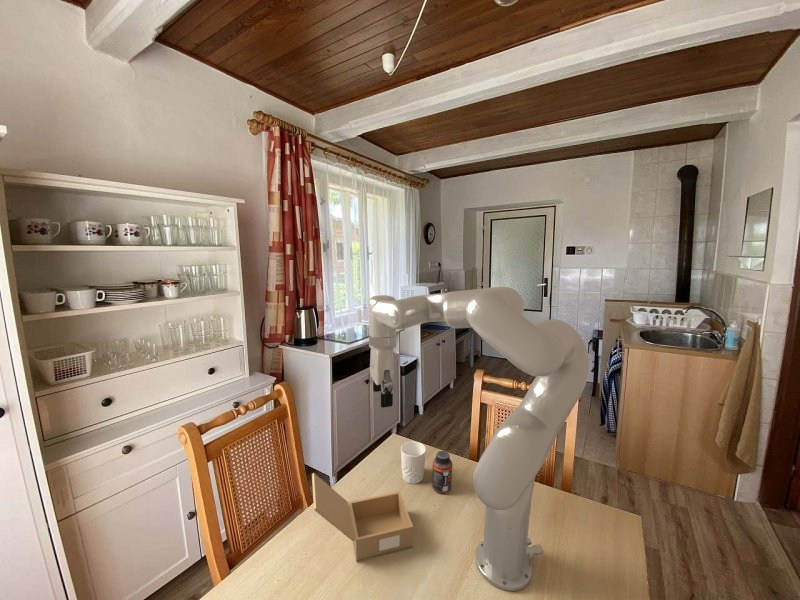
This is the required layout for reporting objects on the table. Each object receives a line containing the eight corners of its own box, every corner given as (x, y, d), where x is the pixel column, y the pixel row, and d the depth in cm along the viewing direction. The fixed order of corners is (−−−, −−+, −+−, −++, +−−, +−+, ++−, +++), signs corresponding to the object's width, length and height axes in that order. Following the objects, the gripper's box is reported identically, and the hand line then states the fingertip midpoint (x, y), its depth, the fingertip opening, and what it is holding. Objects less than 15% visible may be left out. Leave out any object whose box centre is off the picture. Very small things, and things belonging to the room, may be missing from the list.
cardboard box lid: (313, 472, 86) (311, 474, 86) (316, 507, 75) (313, 509, 74) (348, 502, 90) (346, 504, 90) (355, 539, 79) (353, 541, 79)
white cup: (399, 469, 112) (399, 441, 110) (422, 467, 113) (423, 440, 111) (401, 486, 104) (402, 457, 103) (427, 484, 105) (428, 455, 103)
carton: (399, 510, 95) (399, 491, 94) (412, 547, 84) (413, 526, 83) (349, 521, 91) (349, 502, 90) (356, 562, 80) (356, 540, 79)
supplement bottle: (450, 496, 101) (452, 462, 99) (430, 493, 102) (431, 459, 100) (451, 482, 106) (453, 449, 104) (432, 479, 107) (434, 447, 105)
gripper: (363, 333, 100) (363, 387, 103) (376, 351, 84) (376, 415, 87) (388, 331, 103) (387, 384, 106) (404, 349, 86) (403, 411, 89)
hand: (382, 398), depth 96 cm, fingers open, 9 cm apart
